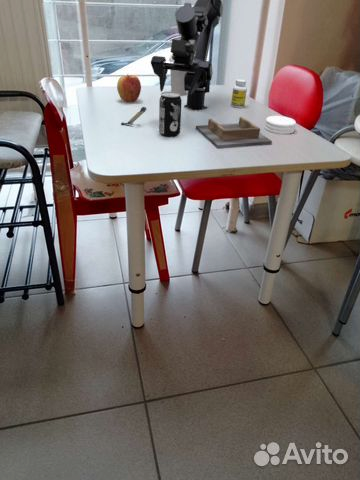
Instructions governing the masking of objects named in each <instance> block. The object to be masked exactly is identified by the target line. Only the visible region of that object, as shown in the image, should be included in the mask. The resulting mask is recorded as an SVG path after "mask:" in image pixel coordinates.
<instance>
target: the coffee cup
mask: <svg viewBox="0 0 360 480" xmlns="http://www.w3.org/2000/svg"><path fill="white" fill-rule="evenodd" d="M172 55H173V54H171V55H170V57H169V59H168V62H174V60H173V59H172ZM185 73H187V72H181V71H178V70H170V90H171V91H170V92H176V93H179V94H180V96H186V95H187V93H188V91H185V88H184V77H185Z"/></svg>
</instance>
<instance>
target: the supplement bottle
mask: <svg viewBox="0 0 360 480" xmlns="http://www.w3.org/2000/svg"><path fill="white" fill-rule="evenodd" d="M246 84H247V79H241V78H237V79H235V85H233V88H232V94H231V102H230V106H231V107H232V108H236V109H242V108H244V107H245V104H246V98H247V97H246V96H247V91H248V87H247V85H246Z"/></svg>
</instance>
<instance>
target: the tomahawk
mask: <svg viewBox="0 0 360 480" xmlns="http://www.w3.org/2000/svg"><path fill="white" fill-rule="evenodd" d="M146 110H147V107H146V106H142V107H141V108H140V110H139V111H138V112H136V113H135V115H134V116H132V117H131V118H130V119H129V120H128V121H127V122H124V121H123V122H121V123H120V125H121V126H127V127H130V128H131V127H134V122H135V121H136V120H137V119H138V118H139V117H140V116H141V115H142V114H144V113H145V111H146Z"/></svg>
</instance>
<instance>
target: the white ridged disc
mask: <svg viewBox="0 0 360 480" xmlns="http://www.w3.org/2000/svg"><path fill="white" fill-rule="evenodd" d="M296 125H297V122H296V120H295V119H294V118H292V117H289V116H284V115H270V116H267V117H266V119H265V123H264V129H265V130H266V131H267V132H269V133H272V134H277V135H289V134H290V133H291V134H293V133H294V132H295V129H296ZM291 134H290V135H291Z"/></svg>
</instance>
